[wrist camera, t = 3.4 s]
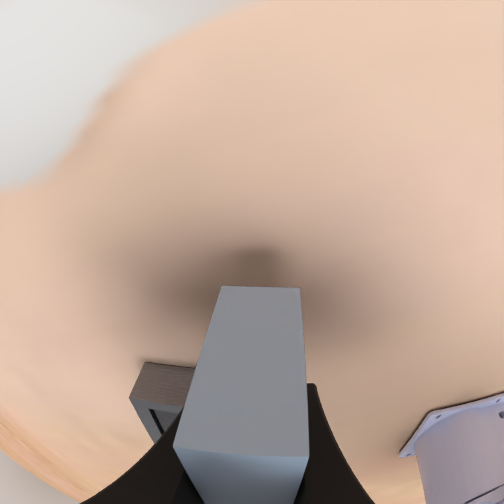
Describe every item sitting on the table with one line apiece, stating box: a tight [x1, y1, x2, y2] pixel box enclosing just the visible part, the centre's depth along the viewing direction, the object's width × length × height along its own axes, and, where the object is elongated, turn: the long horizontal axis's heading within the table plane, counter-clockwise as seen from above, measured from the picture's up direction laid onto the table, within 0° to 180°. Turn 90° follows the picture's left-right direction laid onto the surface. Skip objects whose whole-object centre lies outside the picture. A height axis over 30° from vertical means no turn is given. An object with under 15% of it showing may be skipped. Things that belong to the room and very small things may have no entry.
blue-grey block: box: [173, 286, 309, 504], centre depth 9 cm, size 3×7×6 cm, turn 1°
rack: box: [129, 362, 196, 444], centre depth 23 cm, size 8×30×3 cm, turn 1°
